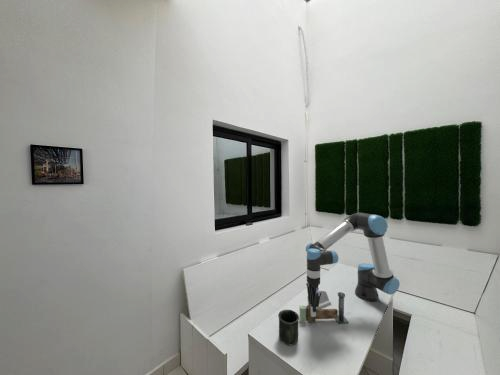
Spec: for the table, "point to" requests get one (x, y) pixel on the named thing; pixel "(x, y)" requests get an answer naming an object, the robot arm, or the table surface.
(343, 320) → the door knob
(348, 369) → the table surface
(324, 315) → the wooden mallet
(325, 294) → the grey arched slab
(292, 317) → the dark green cylindrical container
